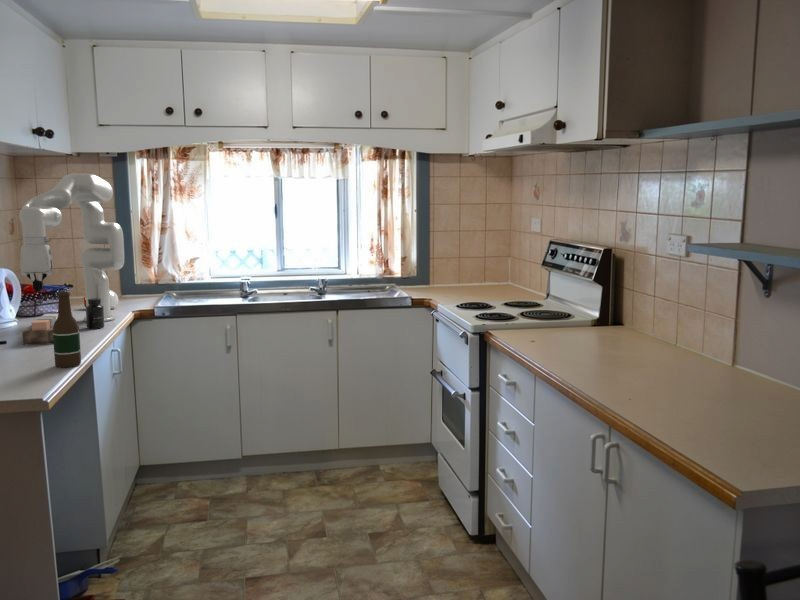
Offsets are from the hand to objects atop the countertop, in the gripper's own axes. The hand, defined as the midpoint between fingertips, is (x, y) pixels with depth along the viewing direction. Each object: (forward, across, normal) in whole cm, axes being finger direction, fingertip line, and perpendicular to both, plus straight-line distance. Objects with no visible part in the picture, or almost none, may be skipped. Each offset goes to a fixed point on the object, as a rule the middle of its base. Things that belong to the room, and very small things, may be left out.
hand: (38, 291), depth 261 cm
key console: (+19, 0, -7) cm, 20 cm away
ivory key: (+15, 0, -14) cm, 21 cm away
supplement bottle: (+19, -14, -26) cm, 35 cm away
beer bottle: (+19, -18, +40) cm, 48 cm away
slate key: (+15, 0, -7) cm, 17 cm away
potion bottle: (+19, -8, -75) cm, 78 cm away
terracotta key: (+15, 0, 0) cm, 15 cm away
